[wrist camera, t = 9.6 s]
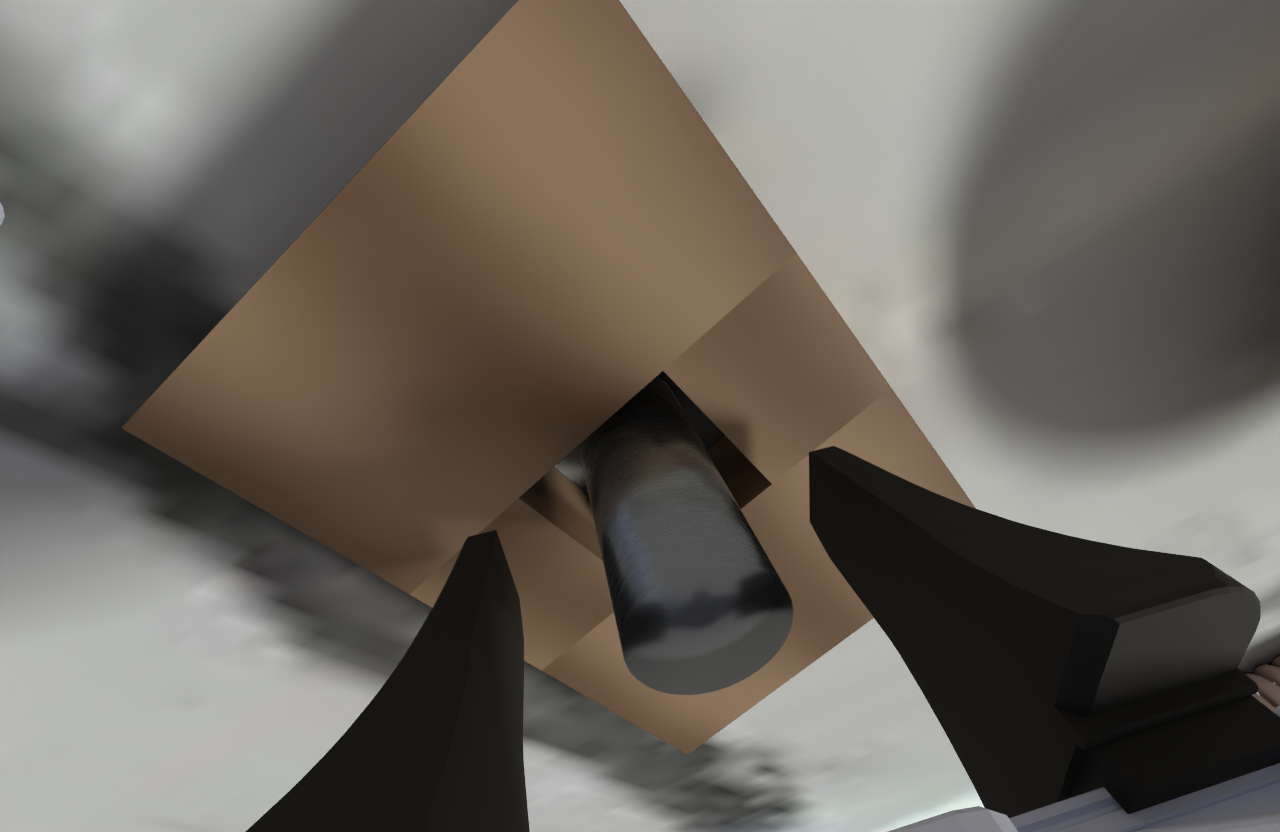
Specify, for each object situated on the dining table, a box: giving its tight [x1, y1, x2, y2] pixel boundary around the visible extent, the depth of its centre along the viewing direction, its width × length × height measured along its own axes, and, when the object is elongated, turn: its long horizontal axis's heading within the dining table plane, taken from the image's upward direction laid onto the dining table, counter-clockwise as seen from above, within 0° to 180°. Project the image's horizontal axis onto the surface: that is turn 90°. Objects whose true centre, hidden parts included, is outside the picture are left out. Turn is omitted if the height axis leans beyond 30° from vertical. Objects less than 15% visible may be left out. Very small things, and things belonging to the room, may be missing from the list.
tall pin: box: [578, 376, 793, 695], centre depth 14 cm, size 3×3×8 cm
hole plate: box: [122, 0, 976, 755], centre depth 16 cm, size 12×18×3 cm, turn 41°
